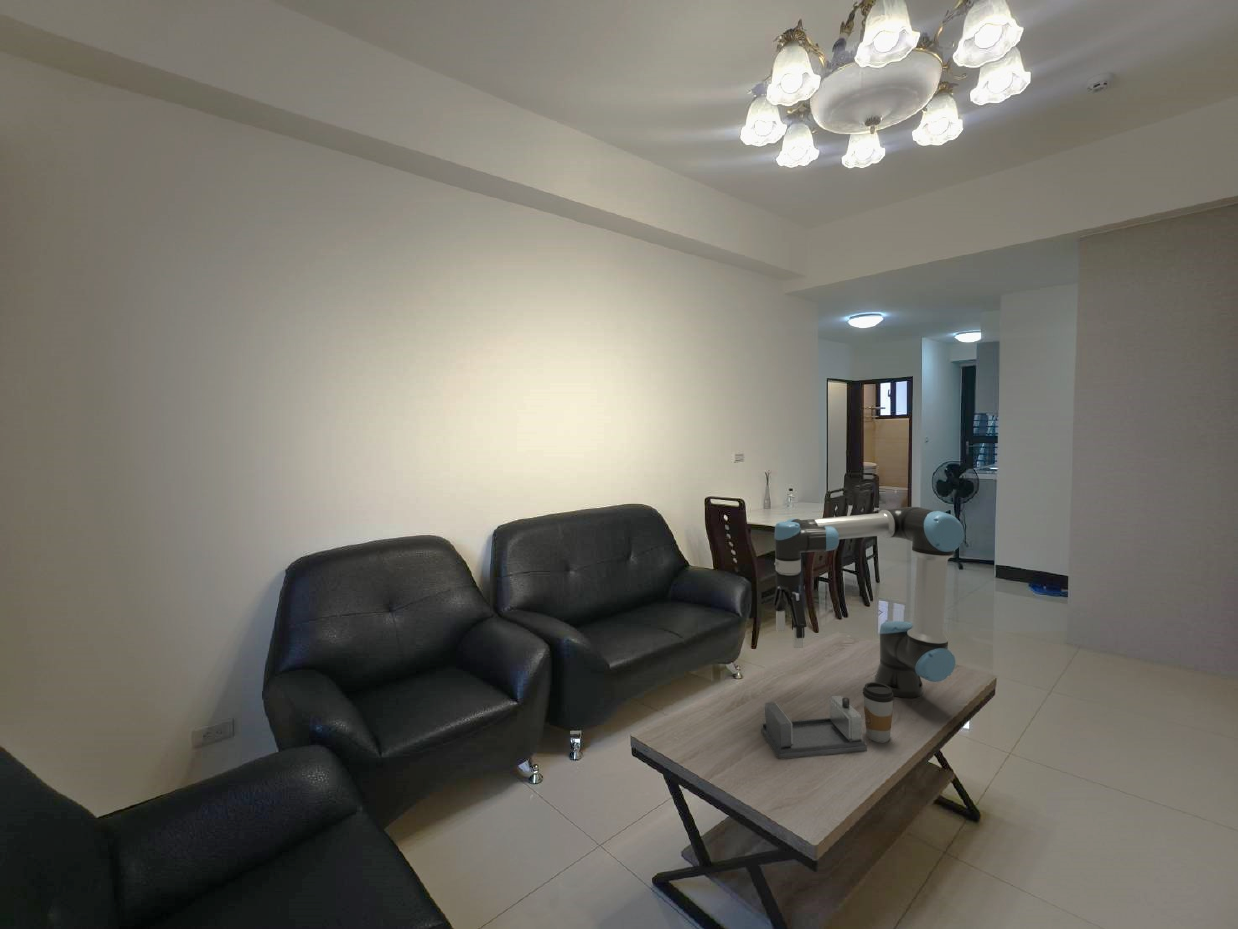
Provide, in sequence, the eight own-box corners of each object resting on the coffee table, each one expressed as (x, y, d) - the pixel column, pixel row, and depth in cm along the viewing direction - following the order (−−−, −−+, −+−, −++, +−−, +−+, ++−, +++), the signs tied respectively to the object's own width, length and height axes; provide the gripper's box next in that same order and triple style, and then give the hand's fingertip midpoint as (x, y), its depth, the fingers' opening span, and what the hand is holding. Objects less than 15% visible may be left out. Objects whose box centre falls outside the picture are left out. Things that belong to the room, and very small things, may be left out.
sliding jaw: (840, 720, 166) (840, 689, 166) (861, 743, 154) (861, 709, 154) (829, 721, 166) (829, 690, 165) (849, 744, 154) (849, 710, 153)
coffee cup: (857, 730, 164) (857, 682, 163) (883, 728, 165) (883, 680, 164) (872, 746, 156) (872, 696, 155) (899, 743, 156) (900, 693, 155)
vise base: (841, 724, 167) (841, 694, 167) (866, 750, 153) (866, 718, 153) (761, 731, 165) (760, 701, 164) (779, 759, 151) (778, 726, 150)
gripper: (762, 562, 179) (763, 625, 180) (792, 584, 154) (793, 656, 155) (783, 561, 179) (785, 623, 181) (817, 582, 155) (818, 654, 156)
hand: (789, 638), depth 168 cm, fingers open, 13 cm apart
